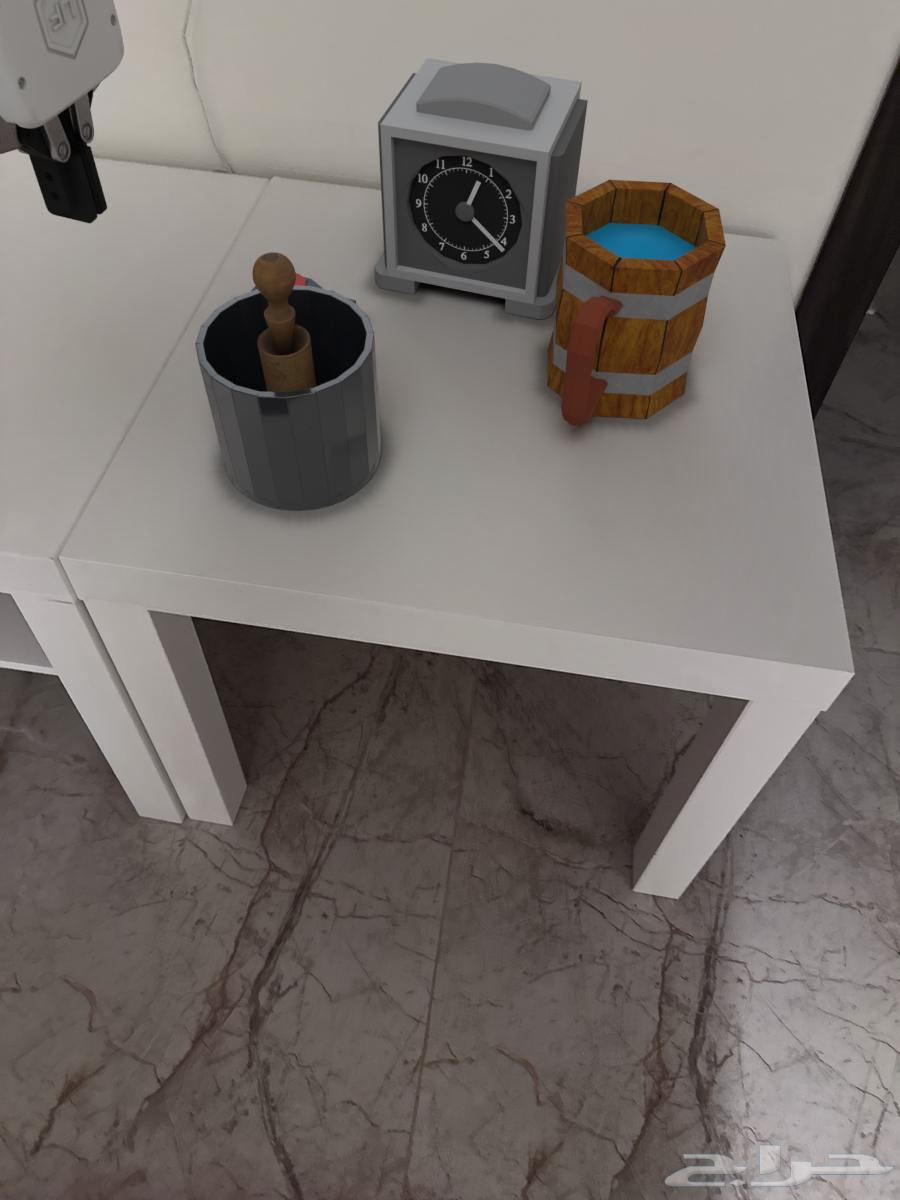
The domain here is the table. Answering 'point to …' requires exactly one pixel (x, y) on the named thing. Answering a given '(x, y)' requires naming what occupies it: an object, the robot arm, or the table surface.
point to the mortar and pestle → (282, 328)
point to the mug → (630, 297)
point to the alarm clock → (479, 182)
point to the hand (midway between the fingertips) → (78, 211)
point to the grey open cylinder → (294, 402)
